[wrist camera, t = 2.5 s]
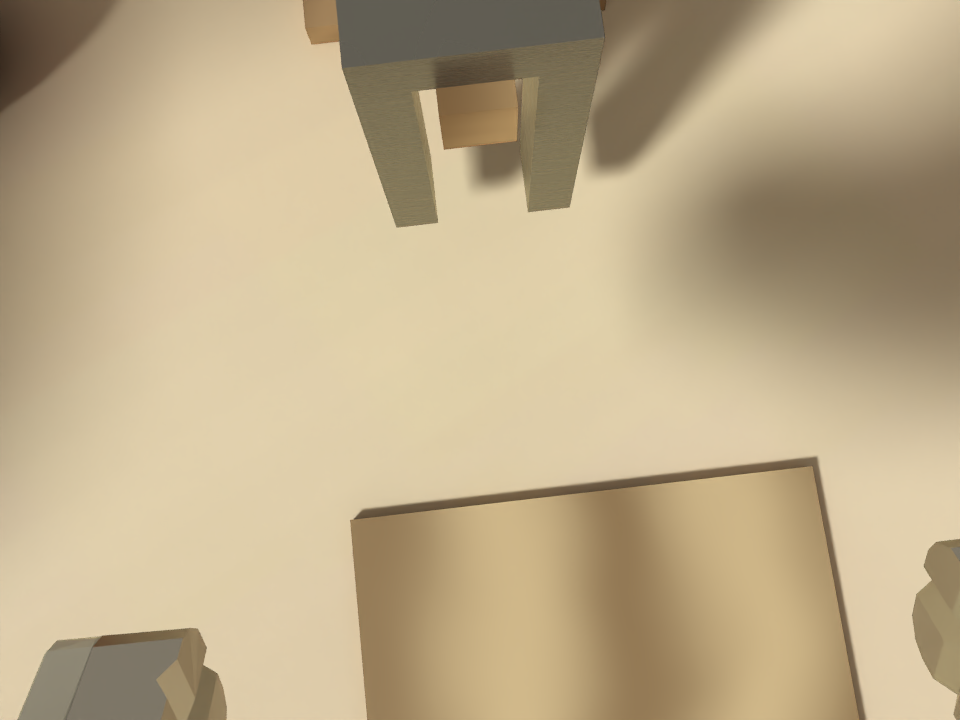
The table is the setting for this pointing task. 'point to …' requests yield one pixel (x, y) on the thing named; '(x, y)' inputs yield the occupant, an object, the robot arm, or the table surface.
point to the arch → (465, 61)
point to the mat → (607, 606)
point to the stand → (444, 92)
